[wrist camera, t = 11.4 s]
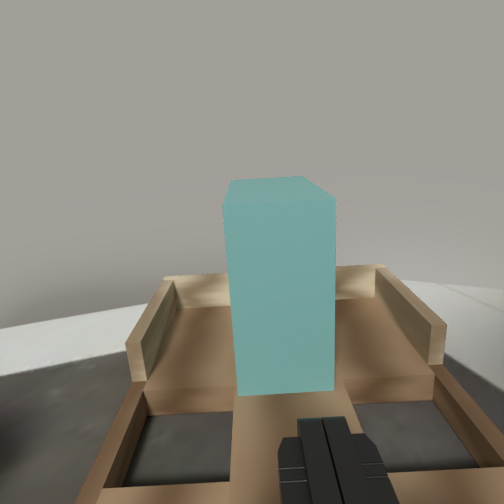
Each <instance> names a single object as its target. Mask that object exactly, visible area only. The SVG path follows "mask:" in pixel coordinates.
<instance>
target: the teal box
mask: <svg viewBox="0 0 504 504" xmlns="http://www.w3.org/2000/svg"><path fill="white" fill-rule="evenodd" d="M222 208H223V219H224V233H225V244H226V257H227V268H228V281H229V293H230V305H231V317H232V329H233V341H234V353H235V365H236V377H237V389H238V396H251V395H268V394H284V393H301V392H317V391H333V390H334V365H335V263H336V257H335V256H336V198H335V197H333V196H331V195H330V194H329V193H327V192H326V191H324V190H322V189H321V188H320V187H318V186H316V185H315V184H314V183H312V182H311V181H309V180H308V179H306V178H304V177H303V176H296V177H295V176H293V177H277V178H260V179H244V180H231V181H230V184H229V187H228V190H227V193H226V196H225V199H224V202H223V205H222Z"/></svg>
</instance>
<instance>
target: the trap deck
mask: <svg viewBox="0 0 504 504" xmlns="http://www.w3.org/2000/svg"><path fill="white" fill-rule="evenodd" d="M446 330H447V324H446V323H445V322H444V321H443V320H442V319H441V318H440V317H439V316H438V315H436V314H435V313H434V312H433V311H432V310H431V309H430V308H429V307H428V306H427V305H426V304H425V303H424V302H423V301H422V300H420V299H419V298H418V297H417V296H416V295H415V294H414V293H413V292H412V291H411V290H410V289H409V288H408V287H407V286H405V285H404V284H403V283H402V282H401V281H400V280H399V279H398V278H397V277H396V276H395V275H394V274H392V272H391V271H389V270H388V269H387V268H386V267H385V266H384V265H383V264H373V265H355V266H338V267H335V365H334V390H333V391H317V392H301V393H284V394H268V395H251V396H238V389H237V377H236V365H235V353H234V341H233V329H232V317H231V305H230V293H229V281H228V273H219V274H202V275H186V276H185V275H184V276H169V277H168V276H167V277H164V279H163V281H162V282H161V284H160V286H159V287H158V289H157V291H156V292H155V294H154V296H153V297H152V299H151V301H150V302H149V304H148V306H147V307H146V309H145V311H144V312H143V314H142V316H141V317H140V319H139V321H138V322H137V324H136V326H135V327H134V329H133V331H132V332H131V334H130V336H129V337H128V339H127V341H126V342H125V345H126V350H127V356H128V361H129V367H130V372H131V377H132V383H131V386H130V388H129V390H128V392H127V394H126V396H125V398H124V400H123V402H122V404H121V407H120V409H119V411H118V413H117V415H116V417H115V419H114V421H113V423H112V426H111V428H110V430H109V432H108V434H107V436H106V438H105V440H104V442H103V445H102V447H101V449H100V451H99V453H98V455H97V457H96V459H95V461H94V464H93V466H92V468H91V470H90V472H89V474H88V476H87V478H86V480H85V483H84V485H83V487H82V489H81V491H80V493H79V495H78V497H77V499H76V502H75V504H281V503H280V491H279V472H278V449H279V446H280V444H281V441H282V439H283V437H297V419H299V418H318V417H320V418H321V417H335V416H345V418H346V421H347V423H348V426H349V429H350V432H351V434H356V433H363V431H362V428H361V426H360V423H359V421H358V418H357V415H356V413H355V410H354V408H353V405H352V404H369V403H387V402H405V401H423V400H433V402H434V403H435V405H436V406H437V407H438V409H439V410H440V412H441V413H442V414H443V416H444V417H445V419H446V420H447V422H448V423H449V424H450V426H451V427H452V429H453V430H454V432H455V433H456V434H457V436H458V437H459V439H460V440H461V441H462V443H463V444H464V446H465V447H466V449H467V450H468V451H469V453H470V454H471V456H472V457H473V459H474V460H475V461H476V463H477V464H478V466H479V467H480V468H472V469H454V470H435V471H417V472H398V473H387V474H388V478H389V479H390V481H391V483H392V486H393V488H394V491H395V493H396V496H397V498H398V500H399V503H400V504H504V435H503V434H502V433H501V432H500V430H499V429H498V428H497V427H496V426H495V425H494V423H493V422H492V421H491V420H490V419H489V418H488V416H487V415H486V414H485V413H484V412H483V411H482V409H481V408H480V407H479V406H478V405H477V404H476V402H475V401H474V400H473V399H472V398H471V397H470V396H469V394H468V393H467V392H466V391H465V390H464V389H463V387H462V386H461V385H460V384H459V383H458V382H457V380H456V379H455V378H454V377H453V376H452V375H451V373H450V372H449V371H448V370H447V369H446V368H445V366H444V365H443V357H444V348H445V339H446ZM225 411H233V429H232V448H231V467H230V482H214V483H196V484H177V485H159V486H140V487H122V484H123V482H124V479H125V476H126V473H127V471H128V468H129V465H130V462H131V460H132V457H133V454H134V451H135V448H136V446H137V443H138V440H139V437H140V435H141V432H142V429H143V426H144V424H145V421H146V418H147V416H153V415H171V414H189V413H207V412H225ZM121 487H122V488H121Z"/></svg>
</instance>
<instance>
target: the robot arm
mask: <svg viewBox="0 0 504 504" xmlns="http://www.w3.org/2000/svg"><path fill="white" fill-rule="evenodd" d="M278 472H279V491H280V503H281V504H400V503H399V500H398V498H397V496H396V493H395V491H394V488H393V486H392V483H391V481H390V479H389V478H388V474H387V471H386V469H385V466H384V465H383V462H382V459H381V457H380V454H379V452H378V450H377V447H376V445H375V444H374V443H373V442H372V441H371V440H370V439H369V438H368V437H367V436H366V435H365V434H364V433H356V434H351V432H350V429H349V426H348V423H347V421H346V418H345V416H335V417H321V418H320V417H318V418H299V419H297V437H283V439H282V441H281V444H280V446H279V449H278Z"/></svg>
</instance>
